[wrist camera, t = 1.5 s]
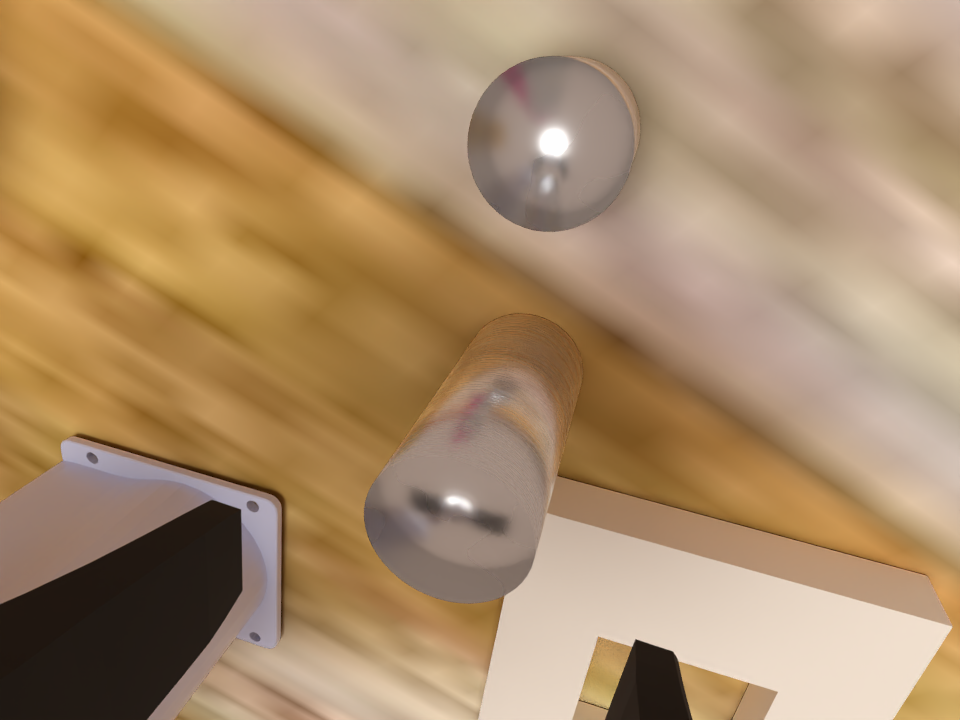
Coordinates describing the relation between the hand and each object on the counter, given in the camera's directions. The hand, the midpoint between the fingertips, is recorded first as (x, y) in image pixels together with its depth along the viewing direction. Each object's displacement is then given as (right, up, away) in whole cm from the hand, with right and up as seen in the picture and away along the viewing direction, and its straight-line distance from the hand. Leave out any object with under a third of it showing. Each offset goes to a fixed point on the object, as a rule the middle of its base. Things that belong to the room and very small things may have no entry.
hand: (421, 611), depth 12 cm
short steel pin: (+3, +10, +6) cm, 12 cm away
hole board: (+8, -7, +12) cm, 16 cm away
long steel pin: (+2, +4, +9) cm, 10 cm away
